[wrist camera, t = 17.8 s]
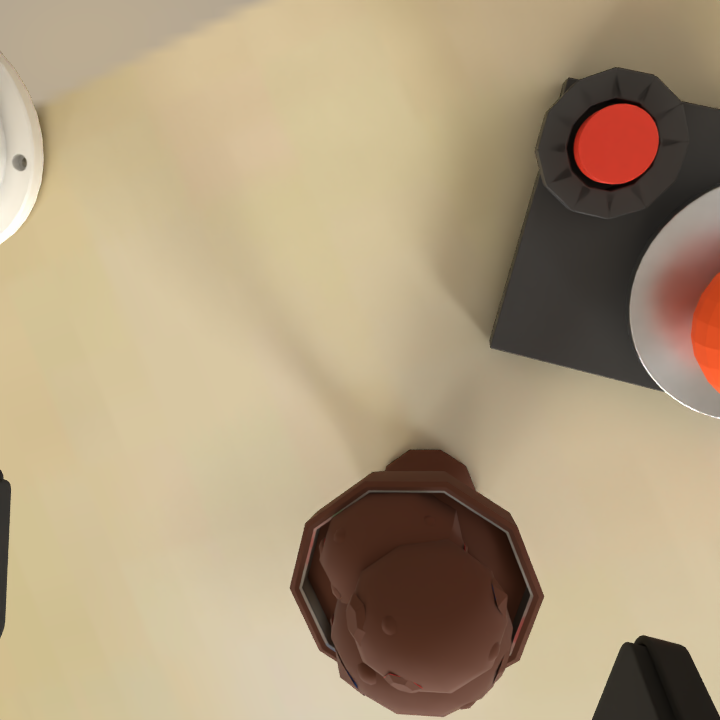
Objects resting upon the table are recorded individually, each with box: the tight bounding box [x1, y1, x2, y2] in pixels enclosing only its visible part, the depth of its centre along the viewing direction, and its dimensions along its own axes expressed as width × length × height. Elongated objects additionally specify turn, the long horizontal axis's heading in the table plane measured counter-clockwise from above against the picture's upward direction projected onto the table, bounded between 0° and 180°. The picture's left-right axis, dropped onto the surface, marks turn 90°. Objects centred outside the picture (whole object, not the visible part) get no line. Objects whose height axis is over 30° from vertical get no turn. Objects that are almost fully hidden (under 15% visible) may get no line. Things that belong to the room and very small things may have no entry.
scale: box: [490, 67, 720, 392], centre depth 31 cm, size 16×14×3 cm
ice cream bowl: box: [290, 450, 544, 717], centre depth 31 cm, size 11×11×15 cm
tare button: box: [573, 104, 659, 184], centre depth 28 cm, size 3×3×2 cm
